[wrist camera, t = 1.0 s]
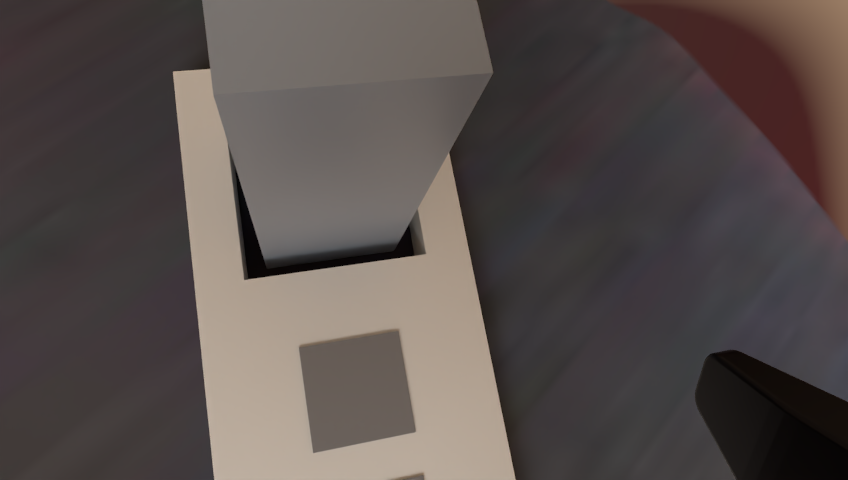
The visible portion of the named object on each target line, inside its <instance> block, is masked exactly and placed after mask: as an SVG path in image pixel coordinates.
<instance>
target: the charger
mask: <svg viewBox="0 0 848 480" xmlns="http://www.w3.org/2000/svg"><path fill="white" fill-rule="evenodd" d="M202 2H203V10H204V19H205V28H206V36H207V45H208V53H209V62H210V71H211V79H212V88H213V96H214V99H215V102H216V105H217V109H218V112H219V115H220V118H221V122H222V125H223V128H224V131H225V135H226V138H227V141H228V144H229V148H230V151H231V154H232V157H233V160H234V164H235V167H236V170H237V173H238V177H239V180H240V183H241V186H242V190H243V193H244V196H245V199H246V203H247V206H248V209H249V212H250V216H251V219H252V222H253V225H254V229H255V232H256V235H257V238H258V242H259V245H260V248H261V251H262V255H263V258H264V261H265V264H266V268H267V269H269V268H276V267H284V266H291V265H298V264H305V263H312V262H319V261H327V260H334V259H341V258H348V257H355V256H362V255H370V254H377V253H384V252H391V251H394V250H395V248H396V246H397V245H398V243H399V241H400V239H401V237H402V236H403V234H404V232H405V230H406V229H407V227H408V225H409V223H410V221H411V220H412V218H413V216H414V214H415V212H416V211H417V209H418V207H419V205H420V203H421V202H422V200H423V198H424V196H425V194H426V193H427V191H428V189H429V187H430V185H431V184H432V182H433V180H434V178H435V177H436V175H437V173H438V171H439V169H440V168H441V166H442V164H443V162H444V160H445V159H446V157H447V155H448V153H449V151H450V150H451V148H452V146H453V144H454V142H455V141H456V139H457V137H458V135H459V133H460V132H461V130H462V128H463V126H464V125H465V123H466V121H467V119H468V117H469V116H470V114H471V112H472V110H473V108H474V107H475V105H476V103H477V101H478V99H479V98H480V96H481V94H482V92H483V90H484V89H485V87H486V85H487V83H488V81H489V80H490V78H491V76H492V74H493V69H492V65H491V60H490V56H489V52H488V47H487V43H486V38H485V34H484V30H483V25H482V21H481V16H480V12H479V8H478V3H477V0H202Z"/></svg>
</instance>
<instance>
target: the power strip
mask: <svg viewBox="0 0 848 480" xmlns="http://www.w3.org/2000/svg"><path fill="white" fill-rule="evenodd" d="M173 78H174V88H175V97H176V107H177V117H178V127H179V137H180V147H181V156H182V166H183V176H184V186H185V196H186V206H187V216H188V225H189V235H190V245H191V255H192V265H193V275H194V284H195V294H196V304H197V314H198V324H199V334H200V343H201V353H202V363H203V373H204V383H205V393H206V403H207V412H208V422H209V432H210V442H211V452H212V462H213V471H214V480H516V479H515V474H514V469H513V465H512V460H511V455H510V450H509V445H508V440H507V435H506V430H505V425H504V420H503V415H502V410H501V406H500V401H499V396H498V391H497V386H496V381H495V376H494V371H493V366H492V361H491V356H490V351H489V347H488V342H487V337H486V332H485V327H484V322H483V317H482V312H481V307H480V302H479V297H478V292H477V288H476V283H475V278H474V273H473V268H472V263H471V258H470V253H469V248H468V243H467V238H466V234H465V229H464V224H463V219H462V214H461V209H460V204H459V199H458V194H457V189H456V184H455V179H454V175H453V170H452V165H451V160H450V155H449V153H448V155H447V157H446V159H445V160H444V162H443V164H442V166H441V168H440V169H439V171H438V173H437V175H436V177H435V178H434V180H433V182H432V184H431V185H430V187H429V189H428V191H427V193H426V194H425V196H424V198H423V200H422V202H421V203H420V205H419V207H418V209H417V211H416V212H415V214H414V216H413V218H412V220H411V221H410V223H409V228H410V233H411V239H412V244H413V250H414V255H415V256H410V257H403V258H396V259H389V260H382V261H375V262H368V263H361V264H354V265H347V266H340V267H333V268H326V269H319V270H311V271H304V272H297V273H290V274H283V275H276V276H269V277H262V278H255V279H248V272H247V264H246V256H245V247H244V239H243V231H242V223H241V214H240V206H239V198H238V190H237V182H236V173H235V165H234V160H233V157H232V154H231V151H230V148H229V144H228V141H227V138H226V135H225V131H224V128H223V125H222V122H221V118H220V115H219V112H218V109H217V105H216V102H215V99H214V96H213V88H212V79H211V71H210V69H203V70H189V71H175V72H173Z"/></svg>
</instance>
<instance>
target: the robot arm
mask: <svg viewBox="0 0 848 480" xmlns="http://www.w3.org/2000/svg"><path fill="white" fill-rule="evenodd" d="M695 401H696V405H697V408H698V410H699V412H700V414H701V416H702V418H703V419H704V421H705V423H706V425H707V427H708V429H709V430H710V432H711V434H712V436H713V438H714V440H715V441H716V443H717V445H718V447H719V449H720V451H721V452H722V454H723V456H724V458H725V460H726V462H727V464H728V465H729V467H730V469H731V471H732V473H733V475H734V476H735V478H736V480H848V402H847V401H845V400H842V399H840V398H838V397H836V396H834V395H832V394H830V393H827V392H825V391H823V390H821V389H819V388H817V387H815V386H812V385H810V384H808V383H806V382H804V381H802V380H800V379H798V378H795V377H793V376H791V375H789V374H787V373H785V372H783V371H780V370H778V369H776V368H774V367H772V366H770V365H768V364H765V363H763V362H761V361H759V360H757V359H755V358H753V357H750V356H748V355H746V354H744V353H742V352H740V351H737V350H727V351H722V352H717V353H712V354H710V355H709V356H708V357H707V358H706V359H705V361H704V365H703V368H702V371H701V374H700V378H699V381H698V384H697V388H696V391H695Z"/></svg>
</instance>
